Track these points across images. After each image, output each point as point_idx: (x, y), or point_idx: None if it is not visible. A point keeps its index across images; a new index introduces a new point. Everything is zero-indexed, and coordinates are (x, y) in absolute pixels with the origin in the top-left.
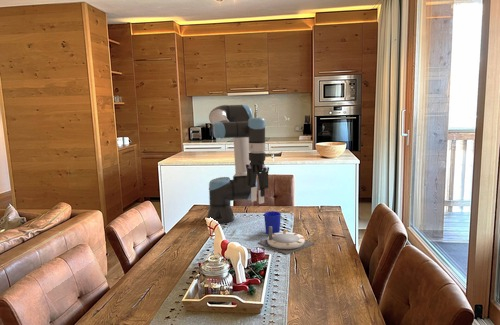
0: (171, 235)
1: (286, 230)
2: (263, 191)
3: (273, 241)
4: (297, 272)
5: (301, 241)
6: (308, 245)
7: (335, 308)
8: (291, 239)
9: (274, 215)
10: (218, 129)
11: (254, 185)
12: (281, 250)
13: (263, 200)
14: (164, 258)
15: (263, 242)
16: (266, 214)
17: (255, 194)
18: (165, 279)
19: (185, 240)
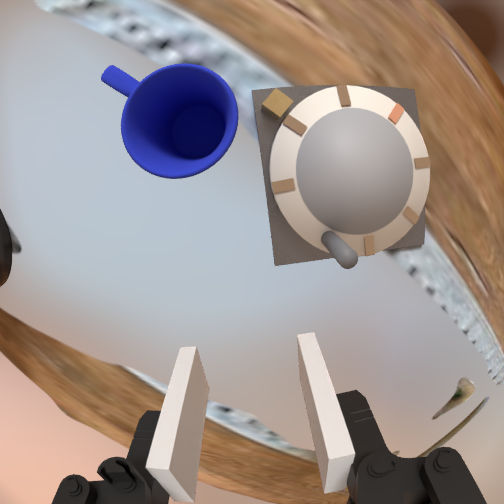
0: (78, 413)
1: (282, 100)
2: (372, 445)
3: (354, 242)
4: (488, 288)
5: (421, 147)
6: (418, 121)
7: None
8: (386, 164)
9: (157, 91)
10: None
11: (150, 497)
12: (399, 242)
13: (319, 355)
14: (221, 469)
15: (293, 250)
16: (137, 143)
17: (189, 406)
18: (314, 478)
19: (124, 413)
